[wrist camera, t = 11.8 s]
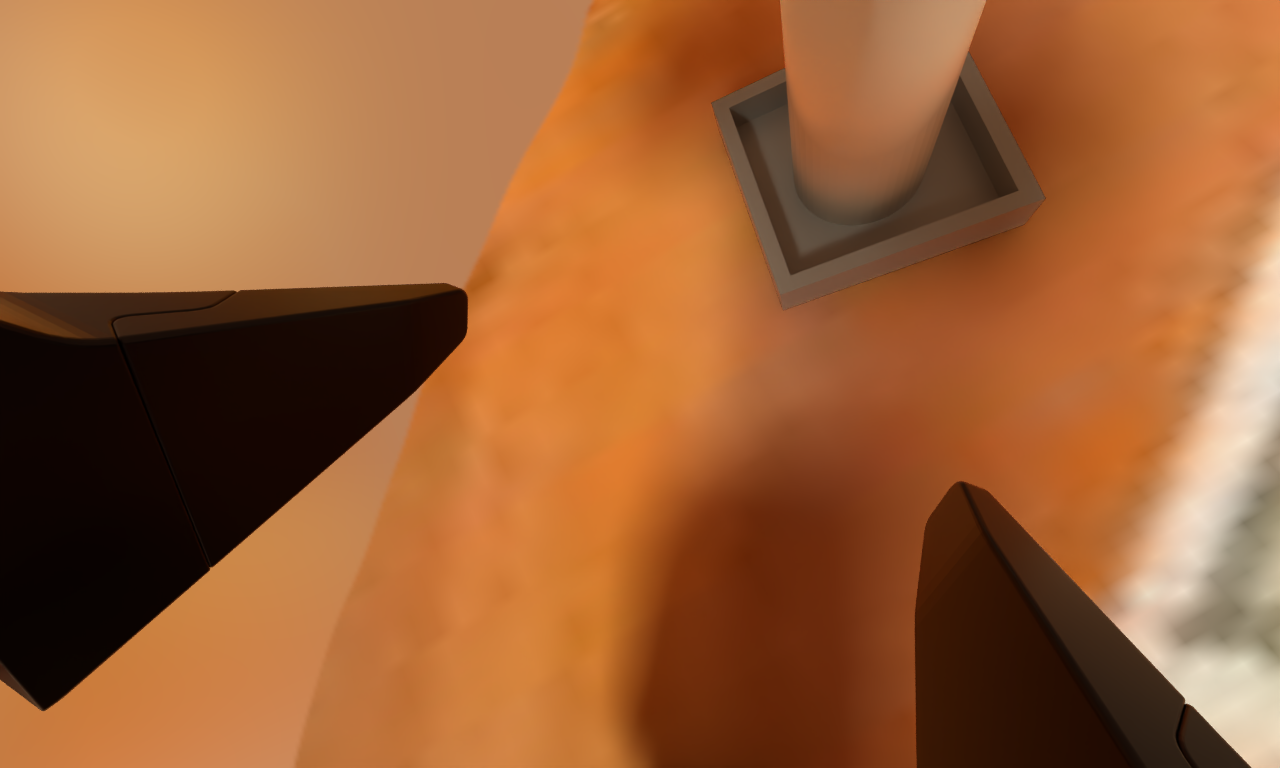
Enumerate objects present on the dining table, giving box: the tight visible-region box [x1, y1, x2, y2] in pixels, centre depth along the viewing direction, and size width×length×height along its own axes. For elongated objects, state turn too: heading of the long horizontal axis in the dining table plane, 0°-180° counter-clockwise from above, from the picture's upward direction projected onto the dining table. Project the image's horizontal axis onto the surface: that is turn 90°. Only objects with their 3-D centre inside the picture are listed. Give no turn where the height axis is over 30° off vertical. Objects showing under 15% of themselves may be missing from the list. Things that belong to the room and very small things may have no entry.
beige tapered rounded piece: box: [780, 0, 986, 226], centre depth 15 cm, size 5×5×13 cm
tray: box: [711, 51, 1046, 310], centre depth 21 cm, size 9×9×2 cm
